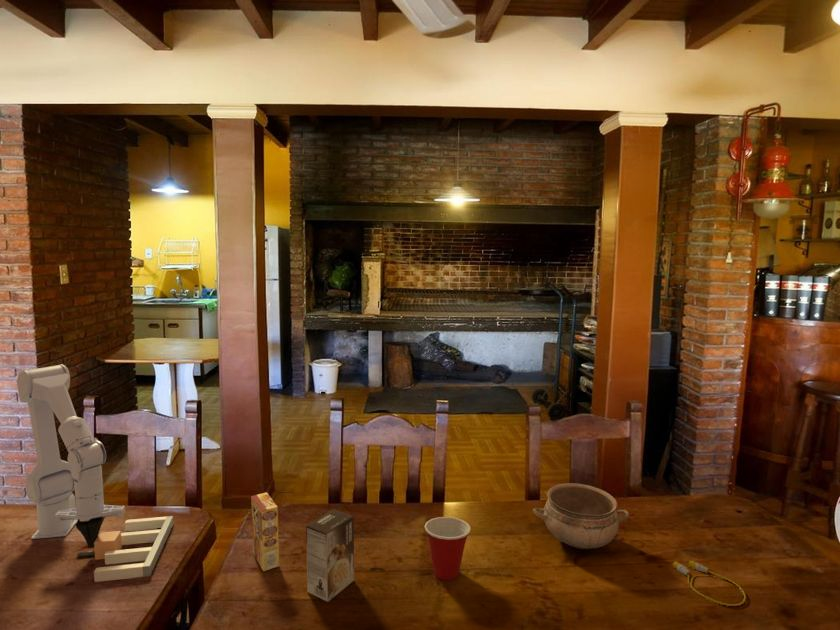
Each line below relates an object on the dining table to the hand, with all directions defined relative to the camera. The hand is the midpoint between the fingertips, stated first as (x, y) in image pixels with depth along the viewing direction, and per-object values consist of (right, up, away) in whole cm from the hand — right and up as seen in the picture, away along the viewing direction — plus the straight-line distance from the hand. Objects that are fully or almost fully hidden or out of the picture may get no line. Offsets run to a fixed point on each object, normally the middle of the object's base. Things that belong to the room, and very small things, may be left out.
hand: (92, 545), depth 128 cm
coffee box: (+60, -5, -10) cm, 61 cm away
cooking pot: (+122, -4, +11) cm, 122 cm away
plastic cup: (+86, -5, -4) cm, 86 cm away
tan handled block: (+1, -2, +1) cm, 3 cm away
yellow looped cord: (+148, -7, -6) cm, 148 cm away
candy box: (+42, -4, 0) cm, 42 cm away
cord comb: (+10, -2, +2) cm, 10 cm away
